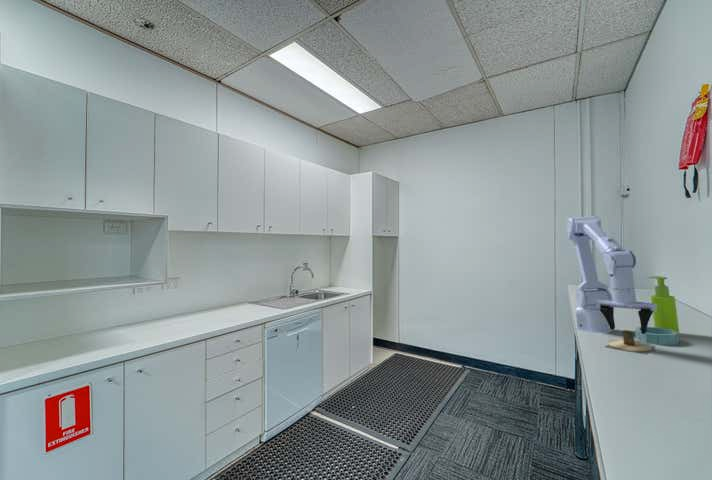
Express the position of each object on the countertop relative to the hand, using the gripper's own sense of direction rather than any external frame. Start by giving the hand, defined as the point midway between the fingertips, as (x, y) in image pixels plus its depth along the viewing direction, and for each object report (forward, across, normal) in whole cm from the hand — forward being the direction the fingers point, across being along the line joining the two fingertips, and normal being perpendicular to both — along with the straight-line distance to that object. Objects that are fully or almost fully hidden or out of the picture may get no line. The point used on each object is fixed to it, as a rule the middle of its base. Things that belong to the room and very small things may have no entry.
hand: (627, 331), depth 96 cm
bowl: (+5, +4, +12) cm, 14 cm away
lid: (+5, 0, 0) cm, 5 cm away
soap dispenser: (+6, +4, +24) cm, 25 cm away
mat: (+5, 0, 0) cm, 5 cm away
